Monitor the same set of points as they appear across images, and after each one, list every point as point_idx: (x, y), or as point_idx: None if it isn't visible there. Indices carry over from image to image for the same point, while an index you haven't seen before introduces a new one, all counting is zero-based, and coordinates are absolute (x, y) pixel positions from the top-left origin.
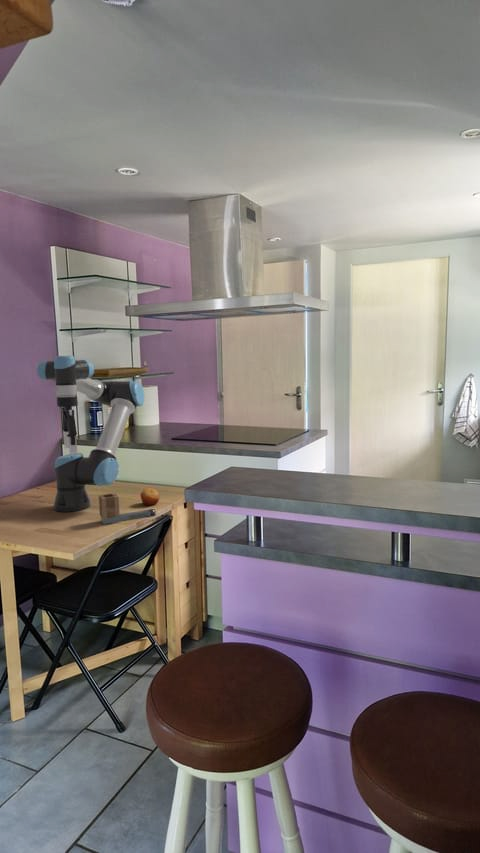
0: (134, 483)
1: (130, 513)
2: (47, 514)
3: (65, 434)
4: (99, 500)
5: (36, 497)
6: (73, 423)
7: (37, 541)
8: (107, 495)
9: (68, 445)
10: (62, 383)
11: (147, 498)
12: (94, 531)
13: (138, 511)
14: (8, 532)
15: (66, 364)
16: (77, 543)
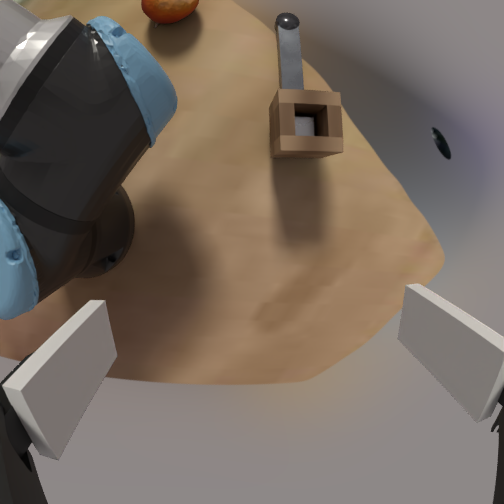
0: None
1: (290, 73)
2: (131, 295)
3: (62, 426)
4: (289, 152)
5: None
6: None
7: (353, 326)
8: (294, 120)
9: (102, 337)
10: None
11: (194, 5)
12: (355, 193)
13: (281, 50)
14: (251, 382)
15: None
16: (412, 245)
